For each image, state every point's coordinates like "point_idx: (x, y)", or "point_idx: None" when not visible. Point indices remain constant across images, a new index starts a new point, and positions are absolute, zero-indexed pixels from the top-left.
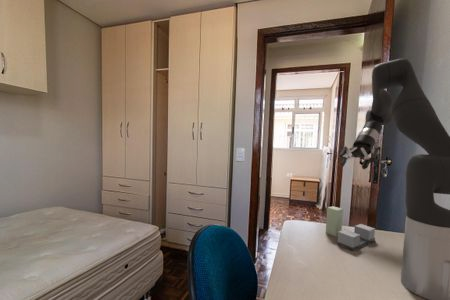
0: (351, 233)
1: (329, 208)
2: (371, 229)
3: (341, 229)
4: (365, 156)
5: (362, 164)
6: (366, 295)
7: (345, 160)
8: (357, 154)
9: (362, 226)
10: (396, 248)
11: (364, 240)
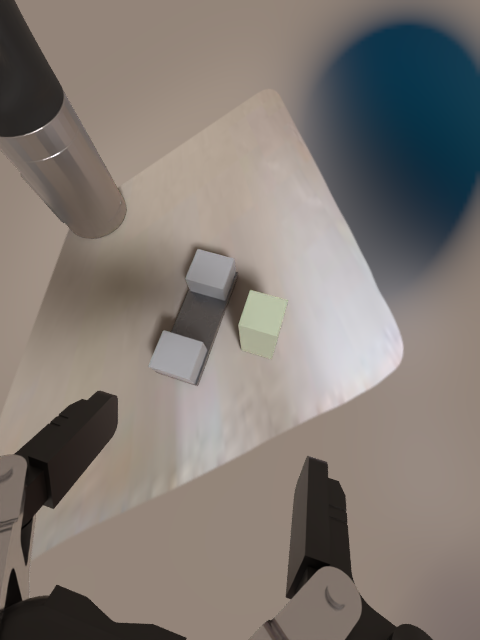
0: (204, 270)
1: (279, 298)
2: (158, 347)
3: (241, 345)
4: (10, 510)
5: (103, 404)
6: (173, 150)
7: (295, 559)
8: (110, 620)
9: (182, 355)
10: (110, 363)
11: (180, 328)
